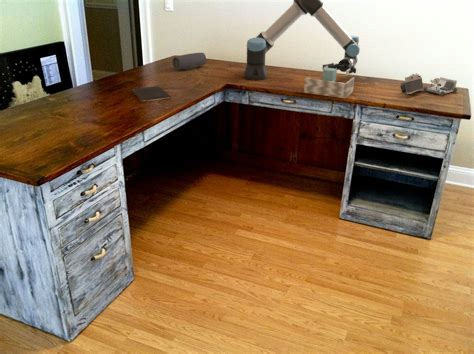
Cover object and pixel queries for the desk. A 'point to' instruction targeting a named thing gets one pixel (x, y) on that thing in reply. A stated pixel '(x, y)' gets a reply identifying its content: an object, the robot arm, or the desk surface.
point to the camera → (412, 84)
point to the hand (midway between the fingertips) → (335, 71)
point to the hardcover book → (151, 93)
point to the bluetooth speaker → (189, 61)
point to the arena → (329, 87)
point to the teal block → (329, 74)
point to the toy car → (442, 86)
